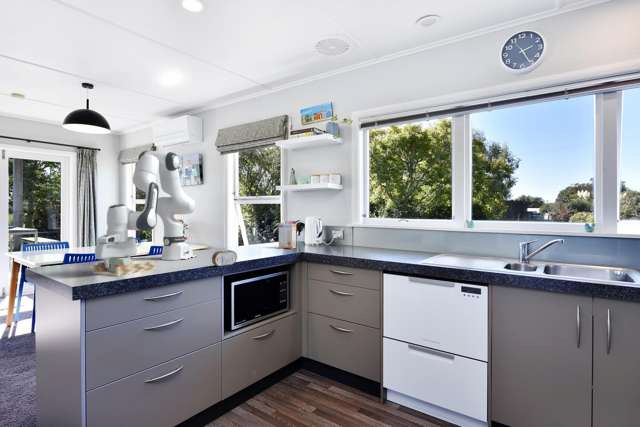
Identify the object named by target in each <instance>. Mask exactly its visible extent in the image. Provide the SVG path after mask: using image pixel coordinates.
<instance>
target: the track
mask: <svg viewBox="0 0 640 427" xmlns="http://www.w3.org/2000/svg"><path fill="white" fill-rule="evenodd" d="M150 270H151V271H152V270H156V260H152V261H146V262H145V261H144V262H138V263H135V259H131V265H126V266H124V264H122V263H120V264H115V271H107V268H106V267H105V263H104V261H103V262H97V264H93V265H92V274H94V275H101V276H102V275H103V276H113V277H114V276H115V277H120V276H125V275H131V274H136V273H141V272H145V271H150Z"/></svg>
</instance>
